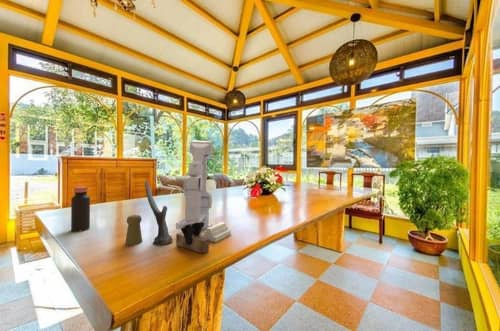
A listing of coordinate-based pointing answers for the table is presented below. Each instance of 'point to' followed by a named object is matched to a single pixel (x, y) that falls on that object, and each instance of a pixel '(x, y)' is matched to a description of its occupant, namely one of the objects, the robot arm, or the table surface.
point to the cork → (133, 230)
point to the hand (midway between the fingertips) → (192, 242)
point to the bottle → (80, 210)
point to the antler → (159, 220)
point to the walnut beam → (193, 243)
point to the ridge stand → (216, 232)
